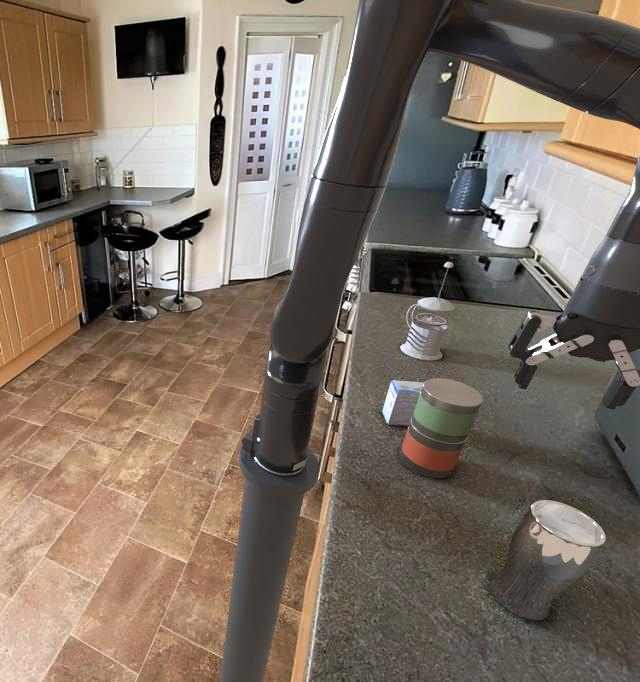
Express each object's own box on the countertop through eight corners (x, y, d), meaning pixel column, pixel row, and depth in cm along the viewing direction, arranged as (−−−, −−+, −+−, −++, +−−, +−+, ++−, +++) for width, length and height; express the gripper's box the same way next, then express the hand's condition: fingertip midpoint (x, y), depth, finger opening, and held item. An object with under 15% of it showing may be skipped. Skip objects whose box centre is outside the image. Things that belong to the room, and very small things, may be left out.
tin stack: (393, 463, 81) (417, 393, 73) (405, 440, 86) (428, 372, 79) (448, 486, 75) (479, 413, 68) (457, 460, 81) (487, 389, 73)
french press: (420, 362, 112) (451, 270, 100) (386, 342, 122) (410, 256, 110) (451, 357, 113) (485, 265, 102) (416, 337, 124) (442, 252, 112)
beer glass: (473, 582, 60) (514, 507, 53) (509, 567, 62) (553, 492, 55) (528, 632, 54) (582, 555, 47) (565, 614, 56) (623, 536, 49)
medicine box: (421, 416, 92) (433, 382, 88) (429, 429, 89) (442, 395, 85) (381, 412, 94) (391, 379, 90) (387, 425, 90) (397, 391, 86)
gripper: (707, 279, 48) (628, 397, 56) (541, 260, 55) (492, 367, 63) (741, 303, 43) (649, 430, 50) (553, 278, 49) (497, 393, 57)
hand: (562, 395), depth 57 cm, fingers open, 8 cm apart
